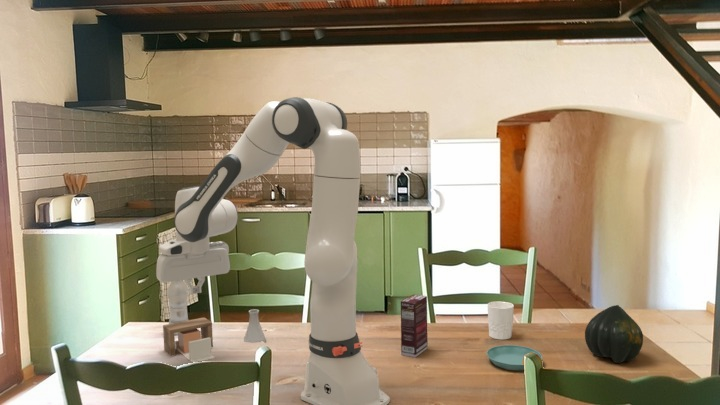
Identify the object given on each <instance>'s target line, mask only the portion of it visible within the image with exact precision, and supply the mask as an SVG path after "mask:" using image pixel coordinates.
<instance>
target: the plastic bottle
mask: <svg viewBox="0 0 720 405" xmlns="http://www.w3.org/2000/svg"><path fill="white" fill-rule="evenodd" d="M166 294H167V300H168V307H169V320H168V324H172V323H177V322H183V321H188V320H189V317H188V306H187V305H188V296H189V287H188V286H187V284H186V283H185V281H184V280H179V281H172V282H169V285H168V287H167V290H166ZM174 336H178V332H177V333H174Z"/></svg>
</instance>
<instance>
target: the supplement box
mask: <svg viewBox="0 0 720 405" xmlns="http://www.w3.org/2000/svg"><path fill="white" fill-rule="evenodd" d="M400 343H401V344H400V346H401V348H400V350H401V356H406V357H409V358H410V357H411V358H416V357H418V356H419V355H420V354H422V353H423V352H425V351H426V350H427V349H428V346H429V345H428V296H427V295H421V294H412V295H410V296H408V297H406V298H404V299H402V300H400Z"/></svg>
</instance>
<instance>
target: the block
mask: <svg viewBox="0 0 720 405" xmlns="http://www.w3.org/2000/svg"><path fill="white" fill-rule="evenodd" d="M199 339H201V330H199V328H197V329H192V330H187V331H182V332H178V335H177V340H178V347H179V349H180V350H181V351H182V352H183V353H189V342H190V341H194V340H199Z"/></svg>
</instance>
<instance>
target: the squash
mask: <svg viewBox="0 0 720 405" xmlns="http://www.w3.org/2000/svg"><path fill="white" fill-rule="evenodd" d="M584 340H585V344H586V346H587V348H588V350H589V351H590V352H591V353H592V354H593V355H595V356H597V357H605V358H610V359H611V360H612V362H614V363H619V364H620V363H622V362H629V361H633V360H634V359H636V357H637V356H638V354H639V353H640V352H641V350H642V348H643V344H644V334H643V330H642V328H641V327H640V326H639V324H638V323H637V322H636V321H635V319H633V318H632V317H631V316H630V315H629V314H628V313H627V312H626V311H625V309H624V308H622V307H621V306H620V305H619V304H617V305H611V306H609V307H607V308H605V309H603V310H602V311H599V312H598V313H597V314H595V315H594V316H592V318H591V319H590V320H589V322H588V323H587V325H586V327H585V330H584Z"/></svg>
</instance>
